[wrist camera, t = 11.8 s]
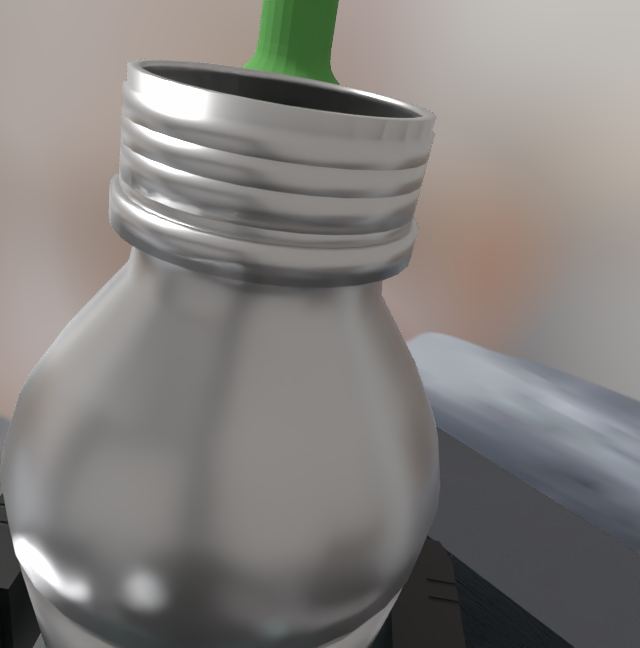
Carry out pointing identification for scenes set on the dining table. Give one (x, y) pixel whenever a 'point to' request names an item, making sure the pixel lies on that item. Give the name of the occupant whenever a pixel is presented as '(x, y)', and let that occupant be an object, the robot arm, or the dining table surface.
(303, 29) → the wine bottle
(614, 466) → the dining table surface
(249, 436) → the plastic bottle
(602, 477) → the dining table surface
